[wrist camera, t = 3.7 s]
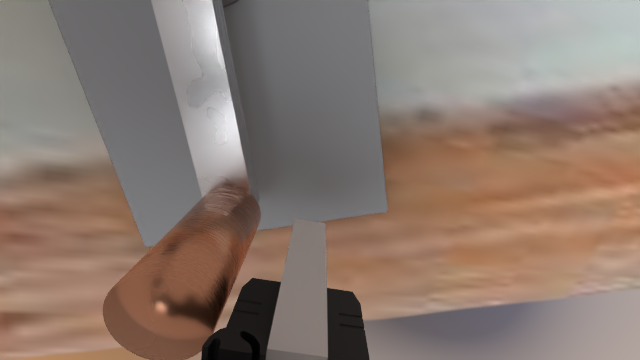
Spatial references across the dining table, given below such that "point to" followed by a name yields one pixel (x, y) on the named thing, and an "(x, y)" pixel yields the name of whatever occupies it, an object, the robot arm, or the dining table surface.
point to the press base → (257, 102)
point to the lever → (209, 213)
